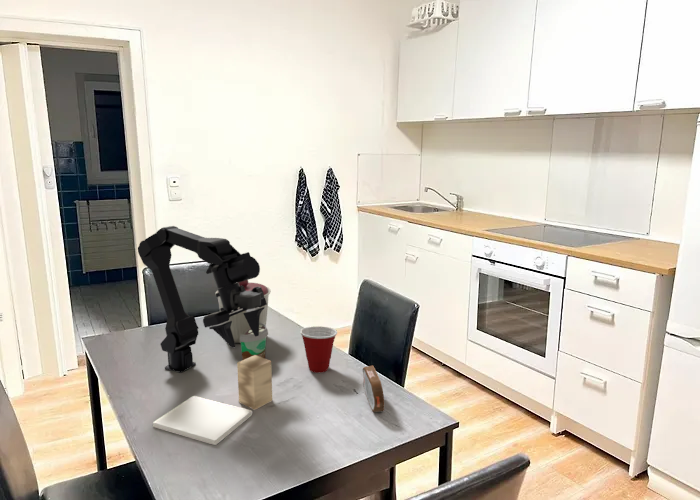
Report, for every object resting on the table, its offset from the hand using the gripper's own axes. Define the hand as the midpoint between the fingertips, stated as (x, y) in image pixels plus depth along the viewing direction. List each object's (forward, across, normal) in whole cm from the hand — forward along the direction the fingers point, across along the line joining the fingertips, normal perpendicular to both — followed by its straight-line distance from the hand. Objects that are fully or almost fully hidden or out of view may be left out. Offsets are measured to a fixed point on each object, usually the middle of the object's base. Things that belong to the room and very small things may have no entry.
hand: (245, 341), depth 135 cm
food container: (+10, +16, +14) cm, 23 cm away
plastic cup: (+16, +20, -4) cm, 26 cm away
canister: (+4, +27, +28) cm, 40 cm away
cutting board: (+13, -18, +3) cm, 23 cm away
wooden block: (+15, -4, -2) cm, 16 cm away
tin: (+24, +10, -26) cm, 37 cm away
